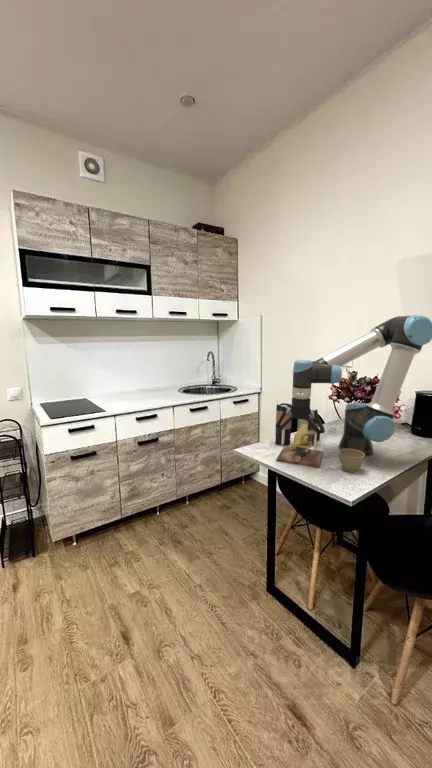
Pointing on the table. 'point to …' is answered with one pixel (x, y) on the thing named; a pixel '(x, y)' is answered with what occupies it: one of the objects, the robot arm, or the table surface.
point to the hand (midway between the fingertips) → (298, 445)
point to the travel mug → (287, 428)
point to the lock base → (304, 460)
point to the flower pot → (351, 459)
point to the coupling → (301, 439)
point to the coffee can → (309, 428)
